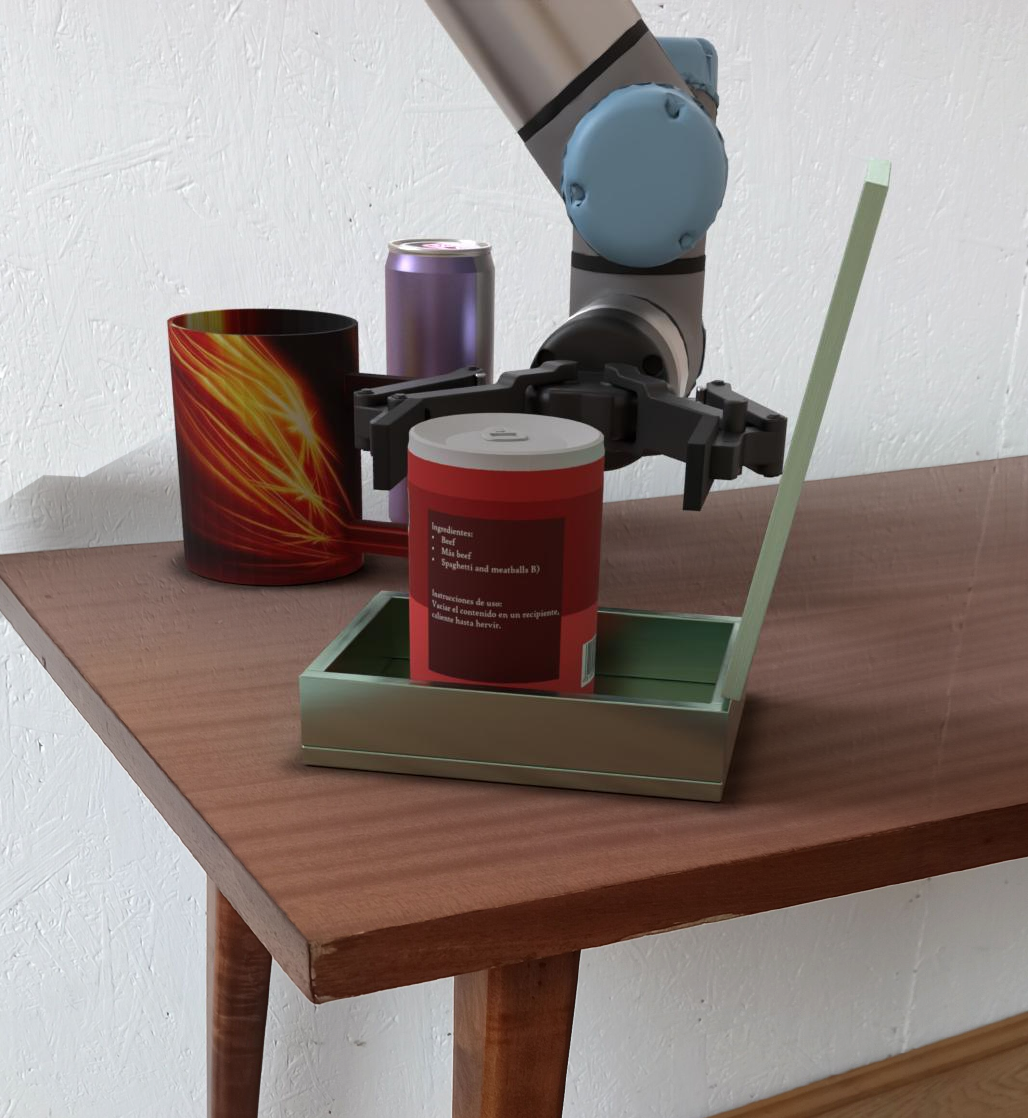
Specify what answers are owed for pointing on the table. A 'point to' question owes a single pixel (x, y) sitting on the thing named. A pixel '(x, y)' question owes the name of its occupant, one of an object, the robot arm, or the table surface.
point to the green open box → (533, 709)
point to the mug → (272, 446)
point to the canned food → (505, 550)
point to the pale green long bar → (808, 423)
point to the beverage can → (437, 316)
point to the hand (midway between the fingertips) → (535, 468)
